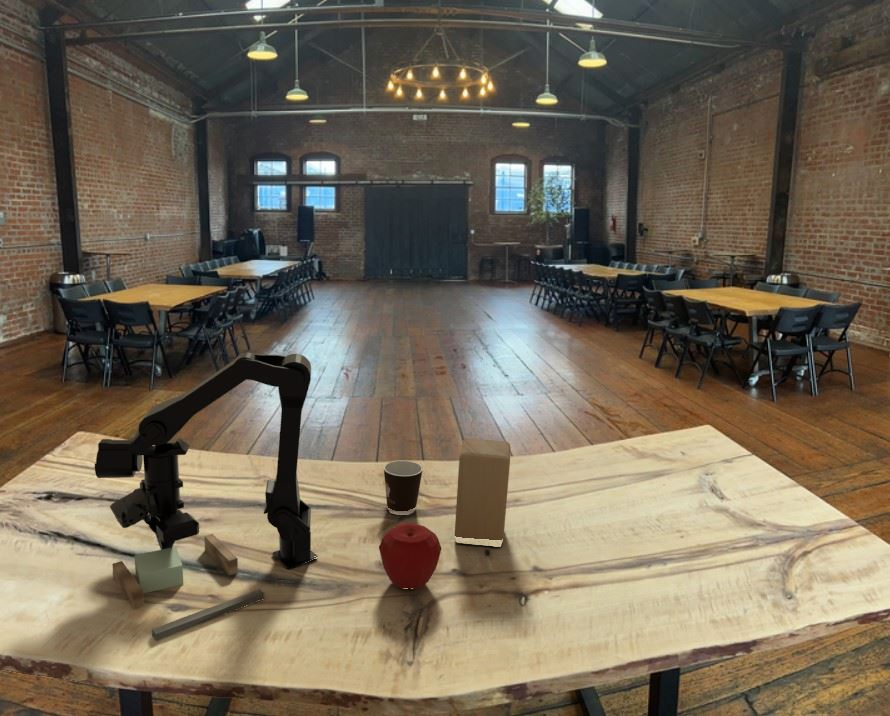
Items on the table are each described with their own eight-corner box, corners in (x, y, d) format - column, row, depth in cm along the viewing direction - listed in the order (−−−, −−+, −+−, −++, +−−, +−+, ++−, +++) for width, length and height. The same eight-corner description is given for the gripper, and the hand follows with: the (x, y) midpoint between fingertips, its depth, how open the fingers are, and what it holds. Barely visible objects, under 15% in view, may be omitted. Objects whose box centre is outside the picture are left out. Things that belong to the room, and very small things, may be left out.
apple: (449, 580, 125) (452, 523, 122) (417, 608, 116) (420, 547, 113) (400, 561, 131) (402, 506, 128) (366, 587, 122) (368, 528, 119)
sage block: (183, 585, 120) (182, 565, 119) (140, 595, 116) (139, 574, 115) (176, 566, 125) (175, 546, 125) (135, 574, 122) (134, 555, 121)
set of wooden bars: (264, 599, 117) (264, 583, 116) (155, 641, 105) (154, 624, 104) (213, 547, 132) (212, 533, 131) (113, 578, 120) (112, 563, 119)
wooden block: (503, 526, 146) (510, 440, 142) (502, 550, 137) (510, 458, 132) (457, 522, 147) (463, 435, 142) (453, 545, 138) (459, 453, 133)
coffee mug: (419, 519, 147) (421, 477, 145) (380, 517, 147) (381, 474, 145) (422, 496, 159) (424, 456, 156) (385, 493, 159) (387, 454, 156)
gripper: (98, 468, 123) (104, 545, 127) (130, 507, 109) (136, 592, 113) (161, 455, 130) (164, 528, 134) (199, 490, 117) (201, 570, 120)
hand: (165, 553), depth 125 cm, fingers closed
